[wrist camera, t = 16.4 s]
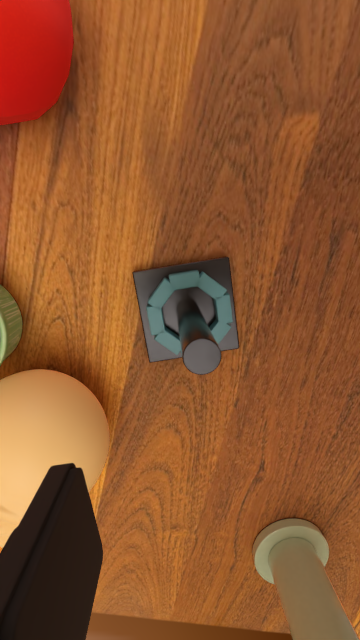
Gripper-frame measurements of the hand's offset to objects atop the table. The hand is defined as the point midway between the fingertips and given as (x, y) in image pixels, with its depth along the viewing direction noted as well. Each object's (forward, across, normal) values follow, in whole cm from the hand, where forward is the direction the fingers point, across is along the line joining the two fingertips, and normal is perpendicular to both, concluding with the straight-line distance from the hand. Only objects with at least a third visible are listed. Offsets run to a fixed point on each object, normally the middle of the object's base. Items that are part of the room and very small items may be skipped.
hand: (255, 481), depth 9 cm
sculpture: (+20, +15, +7) cm, 26 cm away
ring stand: (+20, -6, +27) cm, 35 cm away
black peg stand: (+20, +1, -1) cm, 20 cm away
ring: (+19, +1, -1) cm, 19 cm away
